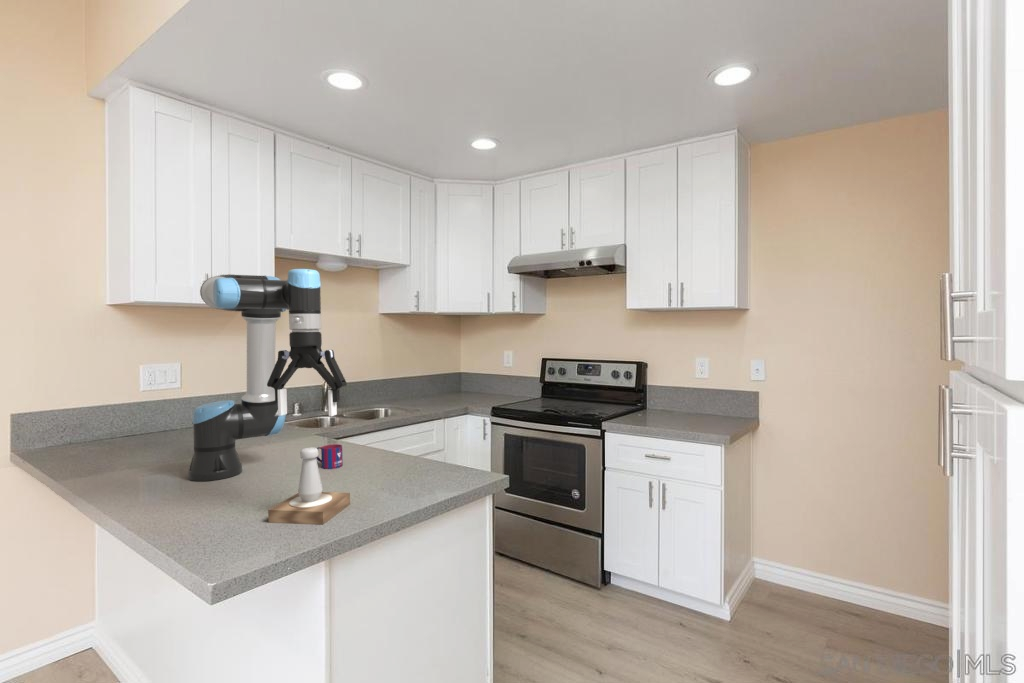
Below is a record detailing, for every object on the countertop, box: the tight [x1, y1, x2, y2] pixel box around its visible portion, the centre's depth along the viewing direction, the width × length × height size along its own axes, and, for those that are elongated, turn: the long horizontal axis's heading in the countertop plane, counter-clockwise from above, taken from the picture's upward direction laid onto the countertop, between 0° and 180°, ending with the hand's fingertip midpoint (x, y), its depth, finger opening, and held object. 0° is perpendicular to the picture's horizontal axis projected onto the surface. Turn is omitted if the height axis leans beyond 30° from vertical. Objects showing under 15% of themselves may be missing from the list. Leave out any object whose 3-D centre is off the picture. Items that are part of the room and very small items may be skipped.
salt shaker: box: [297, 446, 324, 502], centre depth 129 cm, size 6×6×13 cm
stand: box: [267, 491, 351, 525], centre depth 129 cm, size 14×14×3 cm
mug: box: [316, 443, 344, 470], centre depth 174 cm, size 7×10×7 cm
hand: (307, 415), depth 130 cm, fingers open, 13 cm apart
